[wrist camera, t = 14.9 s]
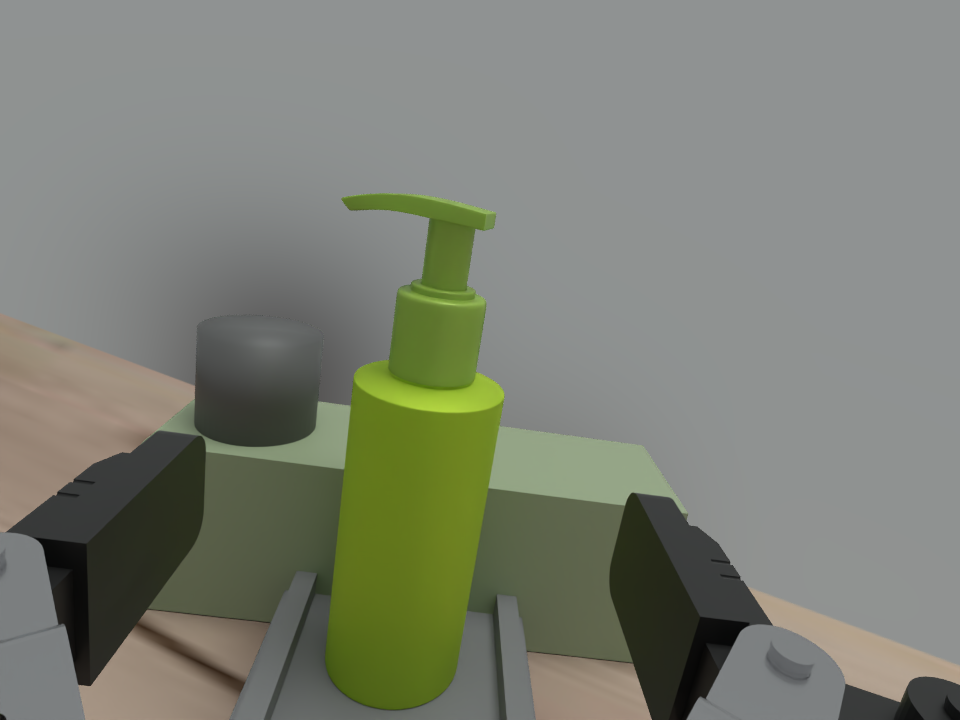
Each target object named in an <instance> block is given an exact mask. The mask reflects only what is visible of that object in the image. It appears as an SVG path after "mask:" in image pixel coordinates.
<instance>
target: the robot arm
mask: <svg viewBox="0 0 960 720" xmlns="http://www.w3.org/2000/svg"><path fill="white" fill-rule="evenodd" d="M205 462H206V444H205V440H204V438H203V437H202V436H199V435H192V434H184V433H177V432H169V431H161V430H159V431H157V432H155V433H154V434H153V435H152V436H150V437H149V438H148V439H147V440H146V441H144V442H143V443H142V444H141V445H140V446H138V447H137V448H136V449H135V450H133V451H132V452H131V453H123V452H122V453H119V454H117V455H114V456H112V457H109V458H107V459H104V460H102V461H99V462H97V463H94V464H93V465H91V466H90V467H89V468H88V469H86V470H85V471H84V472H82V473H81V474H80V475H79V476H77V477H76V478H75V479H74V481H73V483H72V482H70V483H68V484H67V485H66V486H64V487H63V488H62V489H61V490H59V491H58V492H57V495H56V496H55V495H53V496H52V497H50V498H49V499H48V500H47V501H45V502H44V503H43V504H41V505H40V506H39V507H38V508H36V509H35V510H34V511H32V512H31V513H30V514H29V515H27V516H26V517H25V518H23V519H22V520H21V521H20V522H18V523H17V524H16V525H14V526H13V527H12V528H11V529H9V530H8V531H7V532H5V533H1V532H0V720H85V716H84V711H83V706H82V702H81V697H80V692H79V687H78V685H84V686H91V685H92V683H93V682H94V681H95V679H96V678H97V677H98V675H99V674H100V673H101V671H102V670H103V668H104V667H105V666H106V664H107V663H108V662H109V660H110V659H111V658H112V656H113V655H114V654H115V652H116V651H117V649H118V648H119V647H120V645H121V644H122V643H123V641H124V640H125V639H126V637H127V636H128V634H129V633H130V632H131V630H132V629H133V628H134V626H135V625H136V624H137V622H138V621H139V620H140V618H141V617H142V615H143V614H144V613H145V611H146V610H147V609H148V607H149V606H150V605H151V603H152V602H153V600H154V599H155V598H156V596H157V595H158V594H159V592H160V591H161V590H162V588H163V587H164V586H165V584H166V583H167V581H168V580H169V579H170V577H171V576H172V575H173V573H174V572H175V571H176V569H177V568H178V566H179V565H180V564H181V562H182V561H183V560H184V558H185V557H186V556H187V554H188V553H189V552H190V550H191V549H192V547H193V546H194V544H195V542H196V540H197V538H198V535H199V533H200V529H201V526H202V521H203V515H204V492H205ZM609 587H610V594H611V598H612V601H613V604H614V607H615V610H616V613H617V616H618V619H619V622H620V625H621V628H622V631H623V634H624V637H625V640H626V643H627V646H628V649H629V652H630V655H631V658H632V661H633V664H634V667H635V670H636V673H637V676H638V679H639V682H640V685H641V688H642V691H643V694H644V697H645V700H646V703H647V706H648V709H649V712H650V715H651V718H652V720H960V685H958V684H956V683H953V682H950V681H947V680H944V679H939V678H934V677H918V678H914V679H913V680H911V681H910V682H909V684H908V686H907V688H906V691H905V693H904V695H903V698H902V700H901V702H897V701H894V700H891V699H888V698H885V697H882V696H880V695H877V694H874V693H871V692H868V691H865V690H862V689H859V688H856V687H853V686H850V685H848V684H845V679H844V675H843V673H842V671H841V669H840V668H839V667H838V665H837V664H836V662H835V661H834V660H833V659H832V658H831V657H830V656H829V655H828V654H827V653H826V652H825V651H824V650H822V649H821V648H820V647H818V646H817V645H816V644H814V643H812V642H811V641H809V640H808V639H806V638H804V637H802V636H800V635H798V634H796V633H794V632H792V631H789V630H786V629H783V628H780V627H776V626H773V625H772V623H771V622H770V620H769V619H768V617H767V616H766V614H765V613H764V611H763V610H762V608H761V607H760V605H759V604H758V602H757V601H756V599H755V598H754V596H753V595H752V593H751V592H750V590H749V589H748V587H747V586H746V584H745V583H744V581H741V580H740V576H739V574H738V572H737V571H736V570H735V568H734V566H733V565H730V561H729V559H728V558H727V556H726V555H725V553H724V552H723V550H722V549H721V547H720V546H719V544H718V543H717V542H715V541H714V540H713V539H712V538H711V537H709V536H708V535H707V534H706V533H704V532H703V531H702V530H700V529H699V528H698V527H696V526H689V524H688V522H687V521H686V519H685V518H684V516H683V514H682V513H681V511H680V510H679V508H678V506H677V505H676V503H675V502H674V500H673V499H672V498H670V497H663V496H656V495H648V494H641V493H631V494H630V495H629V497H628V499H627V501H626V504H625V508H624V512H623V516H622V520H621V524H620V528H619V532H618V536H617V540H616V544H615V548H614V552H613V556H612V560H611V565H610V573H609Z"/></svg>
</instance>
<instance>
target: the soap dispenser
mask: <svg viewBox="0 0 960 720" xmlns="http://www.w3.org/2000/svg"><path fill="white" fill-rule="evenodd" d="M342 201H343V202H344V204H345V205H346V206H347V208H348V209H349V210H391V211H399V212H404V213H410V214H415V215H419V216H423V217H427V218H430V220H429V227H428V235H427V243H426V250H425V258H424V266H423V274H422V279H417V280H414V281H412V282H411V284H410V285H404V286H401V287H400V288H399V289H398V292H397V297H396V306H395V315H394V323H393V331H392V340H391V348H390V356H389V360H384V361H378V362H373V363H370V364H367V365H365V366H363V367H361V368H359V369H358V370H357V371H356V372H355V374H354V380H353V389H352V399H351V409H350V418H349V428H348V438H347V447H346V457H345V467H344V477H343V486H342V496H341V506H340V515H339V525H338V535H337V545H336V554H335V564H334V574H333V583H332V593H331V603H330V613H329V622H328V632H327V642H326V651H325V664H326V669H327V672H328V674H329V676H330V678H331V680H332V682H333V683H334V684H335V686H336V687H337V688H338V689H339V690H340V691H341V692H342V693H344V694H345V695H346V696H348V697H349V698H351V699H353V700H354V701H356V702H359V703H361V704H363V705H366V706H370V707H374V708H378V709H387V710H400V709H408V708H413V707H417V706H420V705H423V704H425V703H427V702H429V701H431V700H433V699H435V698H436V697H438V696H439V695H440V694H441V693H443V692H444V691H445V690H446V688H447V687H448V686H449V685H450V683H451V682H452V680H453V678H454V676H455V673H456V669H457V664H458V658H459V652H460V647H461V641H462V635H463V630H464V624H465V618H466V612H467V607H468V601H469V595H470V590H471V584H472V578H473V573H474V567H475V561H476V556H477V550H478V544H479V539H480V533H481V527H482V522H483V516H484V510H485V504H486V499H487V493H488V487H489V482H490V476H491V470H492V465H493V459H494V453H495V448H496V442H497V436H498V431H499V425H500V418H501V413H502V407H503V402H504V391H503V390H502V388H501V387H500V386H499V385H498V384H497V383H496V382H494V381H493V380H492V379H490V378H488V377H486V376H484V375H482V374H480V373H477V372H476V368H477V361H478V355H479V349H480V343H481V337H482V330H483V324H484V318H485V311H486V301H485V299H484V298H482V297H481V296H479V295H477V294H476V291H475V290H474V289H473V288H471V287H469V286H467V281H468V273H469V268H470V261H471V254H472V248H473V241H474V234H475V229H479V230H483V231H485V230H489V229H493V228H494V225H495V218H496V213H495V212H492V211H488V210H485V209H482V208H478V207H474V206H471V205H467V204H463V203H459V202H455V201H451V200H447V199H442V198H437V197H431V196H425V195H416V194H387V193H386V194H385V193H382V194H381V193H380V194H363V195H356V196H348V197H343V198H342Z"/></svg>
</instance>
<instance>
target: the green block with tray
mask: <svg viewBox="0 0 960 720" xmlns="http://www.w3.org/2000/svg"><path fill="white" fill-rule="evenodd" d="M323 340H324V334H323V332H322V331H321V330H319V329H318V328H316V327H314V326H312V325H310V324H307V323H303V322H300V321H296V320H292V319H287V318H280V317H273V316H263V315H262V316H261V315H230V316H220V317H214V318H210V319H207V320H204V321H202V322H201V323H199V324H198V326H197V348H196V351H197V352H196V381H195V399H194V400H193V401H191V402H190V403H189V404H188V405H187V406H185V407H184V408H183V409H182V410H181V411H179V412H178V413H177V414H176V415H175V416H173V417H172V418H171V419H170V420H169V421H167V422H166V423H165V424H164V425H163V426H161V427H160V428H159V429H158V430H157V431H159V430H161V431H169V432H177V433H184V434H192V435H199V436H202V437H203V438H204V440H205V444H206V462H205V492H204V515H203V521H202V526H201V529H200V533H199V535H198V538H197V540H196V542H195V544H194V546H193V547H192V549H191V550H190V552H189V553H188V554H187V556H186V557H185V558H184V560H183V561H182V562H181V564H180V565H179V566H178V568H177V569H176V571H175V572H174V573H173V575H172V576H171V577H170V579H169V580H168V581H167V583H166V584H165V586H164V587H163V588H162V590H161V591H160V592H159V594H158V595H157V596H156V598H155V599H154V600H153V602H152V603H151V605H150V606H149V607H148V609H154V610H163V611H172V612H181V613H190V614H199V615H208V616H217V617H226V618H235V619H244V620H253V621H262V622H271V624H270V626H269V628H268V631H267V633H266V635H265V638H264V640H263V642H262V645H261V647H260V649H259V652H258V654H257V656H256V659H255V661H254V663H253V666H252V668H251V670H250V673H249V675H248V677H247V680H246V682H245V684H244V687H243V689H242V691H241V694H240V696H239V698H238V701H237V703H236V705H235V708H234V710H233V712H232V715H231V717H230V719H229V720H536V719H535V711H534V704H533V696H532V688H531V681H530V673H529V666H528V658H527V651H532V652H541V653H550V654H559V655H568V656H577V657H586V658H595V659H604V660H613V661H622V662H631V663H633V661H632V658H631V655H630V652H629V649H628V646H627V643H626V640H625V637H624V634H623V631H622V628H621V625H620V622H619V619H618V616H617V613H616V610H615V607H614V604H613V601H612V598H611V594H610V587H609V573H610V565H611V560H612V556H613V552H614V548H615V544H616V540H617V536H618V532H619V528H620V524H621V520H622V516H623V512H624V508H625V504H626V501H627V499H628V497H629V495H630V494H631V493H641V494H648V495H656V496H663V497H670V498H672V499H673V500H674V502H675V503H676V505H677V506H678V508H679V510H680V511H681V513H682V514H683V516H684V518H685V519H686V520H687V516H688V513H687V511H686V510H685V508H684V507H683V505H682V504H681V502H680V501H679V499H678V498H677V496H676V495H675V493H674V492H673V490H672V489H671V487H670V486H669V484H668V483H667V481H666V480H665V478H664V477H663V475H662V474H661V472H660V471H659V469H658V467H657V466H656V464H655V463H654V461H653V460H652V458H651V457H650V455H649V454H648V452H647V451H646V450H645V448H644V446H642V445H634V444H627V443H620V442H613V441H605V440H598V439H590V438H583V437H575V436H568V435H561V434H554V433H545V432H539V431H531V430H524V429H517V428H509V427H502V426H499V431H498V436H497V442H496V448H495V453H494V459H493V465H492V470H491V476H490V482H489V487H488V493H487V499H486V504H485V510H484V516H483V522H482V527H481V533H480V539H479V544H478V550H477V556H476V561H475V567H474V573H473V578H472V584H471V590H470V595H469V601H468V607H467V612H466V618H465V624H464V630H463V635H462V641H461V647H460V652H459V658H458V664H457V669H456V673H455V676H454V678H453V680H452V682H451V683H450V685H449V686H448V687H447V688H446V690H445V691H444V692H443V693H441V694H440V695H439V696H438V697H436V698H435V699H433V700H431V701H429V702H427V703H425V704H423V705H420V706H417V707H413V708H408V709H400V710H387V709H378V708H374V707H370V706H366V705H363V704H361V703H359V702H356V701H354V700H353V699H351V698H349V697H348V696H346V695H345V694H344V693H342V692H341V691H340V690H339V689H338V688H337V687H336V686H335V684H334V683H333V682H332V680H331V678H330V676H329V674H328V672H327V669H326V664H325V651H326V642H327V632H328V622H329V613H330V603H331V593H332V583H333V574H334V564H335V554H336V545H337V535H338V525H339V515H340V506H341V496H342V486H343V477H344V467H345V457H346V447H347V438H348V428H349V418H350V409H351V406H347V405H340V404H333V403H325V402H318V396H319V385H320V373H321V362H322V351H323ZM157 431H156V432H157ZM154 433H155V432H154ZM154 433H153V434H154ZM153 434H152V435H153ZM152 435H151V436H152ZM148 438H149V437H148ZM148 438H147V439H148ZM147 439H146V440H147ZM146 440H145V441H146ZM142 443H143V442H142ZM142 443H141V444H142Z"/></svg>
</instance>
